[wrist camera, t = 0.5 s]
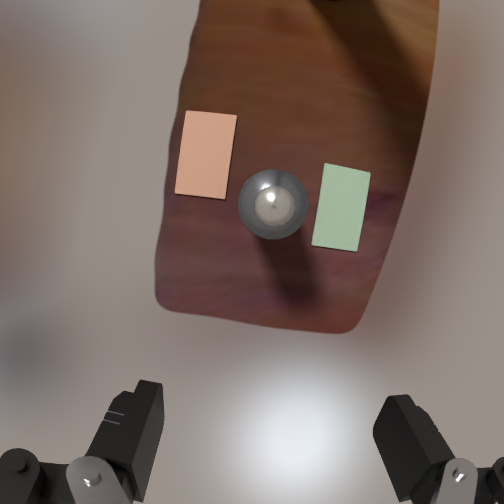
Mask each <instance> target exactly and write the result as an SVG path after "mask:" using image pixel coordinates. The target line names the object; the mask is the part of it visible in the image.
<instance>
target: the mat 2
mask: <svg viewBox="0 0 504 504" xmlns="http://www.w3.org/2000/svg"><path fill="white" fill-rule="evenodd" d="M370 174H371V173H369V172H365V171H360V170H356V169H351V168H346V167H342V166H337V165H332V164H327V163H324V170H323V177H322V184H321V190H320V196H319V203H318V209H317V215H316V221H315V227H314V232H313V238H312V244H311V245H315V246H322V247H329V248H336V249H343V250H349V251H356V252H357V248H358V243H359V238H360V233H361V228H362V223H363V217H364V212H365V206H366V200H367V194H368V187H369V181H370Z"/></svg>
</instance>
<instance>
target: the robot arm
mask: <svg viewBox="0 0 504 504" xmlns="http://www.w3.org/2000/svg"><path fill="white" fill-rule="evenodd" d="M163 425H164V401H163V386H162V384H161V383H156V382H150V381H145V380H140V381H139V382H138V385H137V386H136V389H135V391H134V393H132V392H127V391H123V392H122V393H120V394H119V395H118V396H117V397H115V398H114V399H113V401H112V403H111V405H110V407H109V409H108V412H107V413H106V414H105V417H104V420H103V421H102V423H101V424H100V427H99V429H98V431H97V433H96V435H95V437H94V439H93V441H92V443H91V445H90V447H89V449H88V451H87V453H86V454H85V456H83V457H79V458H77V459H75V460H73V461H72V462H71V463H70V464H53V463H44V462H39V461H38V459H37V458H36V456H35V455H34V454H33V453H31V452H29V451H28V450H25V449H21V448H16V449H11V450H8V451H6V452H5V453H4V454H3V455H2V456H1V458H0V504H133V500H135V501H139V502H143V500H144V496H145V492H146V489H147V485H148V481H149V477H150V474H151V470H152V466H153V463H154V459H155V455H156V452H157V448H158V445H159V441H160V437H161V434H162V430H163ZM373 438H374V441H375V443H376V445H377V448H378V450H379V453H380V455H381V458H382V460H383V462H384V465H385V467H386V470H387V472H388V475H389V477H390V480H391V482H392V485H393V487H394V490H395V492H396V495H397V498H398V500H399V502H403V501H407V500H412V503H413V504H495V503H496V502H498V504H504V457H501V458H499V459H498V460H497V461H496V462H495V463H494V464H493V466H492V467H489V468H476V467H475V466H474V464H473V463H471V462H470V461H468V460H466V459H463V458H455V456H454V455H453V453H452V451H451V450H450V448H449V446H448V445H447V443H446V441H445V440H444V438H443V437H442V435H441V433H440V432H438V429H437V427H436V425H434V422H433V421H432V420H431V418H430V416H429V415H428V413H427V412H425V411H424V410H423V409H422V408H420V407H419V406H416V405H415V404H414V402H413V400H412V399H411V397H410V396H409V395H407V394H406V395H393V396H388V397H387V399H386V401H385V403H384V405H383V407H382V409H381V411H380V413H379V415H378V417H377V419H376V421H375V424H374V427H373Z"/></svg>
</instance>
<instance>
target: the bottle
mask: <svg viewBox="0 0 504 504" xmlns="http://www.w3.org/2000/svg"><path fill="white" fill-rule="evenodd" d="M238 210H239V214H240V217H241V220H242V222H243V223H244V225H245V226H246V227H247V228H248V229H249V230H250V231H251V232H252V233H254V234H255V235H257V236H259V237H262V238H265V239H281V238H285V237H287V236H289V235H291V234H293V233H294V232H295V231H297V230H298V229H299V228H300V226H301V225H302V224H303V222H304V220H305V218H306V216H307V212H308V196H307V193H306V191H305V188H304V187H303V185H302V184H301V182H300V181H299V180H298V179H297V178H296V177H294V176H293V175H292V174H290V173H288V172H285V171H282V170H275V169H272V170H265V171H261V172H259V173H256V174H254V175H252V176H250V177H249V178H248V179H247V180H246V181H245V183H244V184H243V186H242V189H241V192H240V195H239V199H238Z"/></svg>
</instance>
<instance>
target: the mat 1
mask: <svg viewBox="0 0 504 504" xmlns="http://www.w3.org/2000/svg"><path fill="white" fill-rule="evenodd" d="M236 119H237V115H228V114H219V113H208V112H197V111H186V116H185V122H184V128H183V135H182V142H181V149H180V156H179V163H178V171H177V179H176V187H175V193H177V194H186V195H195V196H203V197H212V198H220V199H225V196H226V188H227V181H228V174H229V166H230V159H231V152H232V145H233V139H234V132H235V125H236Z"/></svg>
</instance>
